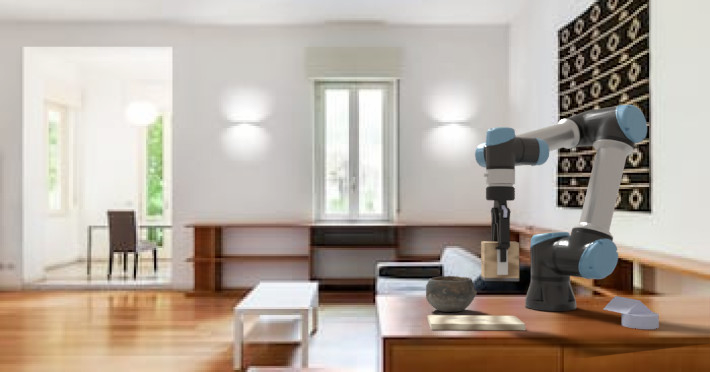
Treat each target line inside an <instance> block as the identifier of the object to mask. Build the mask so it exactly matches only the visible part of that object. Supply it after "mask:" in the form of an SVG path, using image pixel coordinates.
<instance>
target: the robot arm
mask: <svg viewBox="0 0 710 372" xmlns="http://www.w3.org/2000/svg"><path fill="white" fill-rule="evenodd" d="M515 131H516V130H515V129H514V128H512V127H509V126H508V127H506V126H505V127H504V126H501V127H492V128H488V129H487V131H486V135H485V137H486V138H485V142H481V143H480V144H479V145H477V147H476V149H475V151H474V157H475V158H474V159H475V161H476V163H477V164H478V165H479V167H481V168H485V171H486V172H485V173H484V174H483V177H485V182H486V183H485V184H486V185H488V186H486V187H485V200H486V201H493V207H491V210H490V215H491V217H490V218H491V221H490V222H491V232H490V233H491V235H490V236H491V238H490V239H491V241H490V242H498V247H495V249H496V250H497V275H508V248H510V242H511V234H510V233H511V223H510V222H511V209H510V208H509V207H508V201H515V198H516V191H515V190H516V188H515V186H513V185H516V167H520V166H531V167H535V166H542V165H544V164H545V163H546V162H547V161H548V159H549V158H550V152H552V151H555V150H559V149H562V148H564V149H568V150H569V149H574V148H577V147H578V148H579V147H593V148H594V149H595V151H596V154H595V156H594V161H593V165H592V169H591V173H590V176H589V181H588V185H587V190H586V193H585V194H586V195H585V199H584V201H583V206H582V208H581V209H582V210H581V214H580V219H579V222H578V224H577V225H575V226H573V227H572V229H571V231H570V232H567V231H560V232H559V231H557V232H547V233H546V232H545V233H537V234H534V235H532V237H531V238H530V247H529V250H530V252H529V253H530V282H529V287H528V290H527V292H526V296H525V300H524V303H525V305H524V306H525V308H528V309H531V310H537V311H545V312H546V311H547V312H548V311H549V312H568V311H575V310H577V301H576V297H575V294H574V290H573V288H572V285H571V277H575V278H583V279H586V280H602V279H605V278H607V277H608V276H610V275H611V274H612V273H613V272H614V270H615V268H616V267H617V264H618V261H619V252H618V247H617V245H616V243H615V242H614V236H613V235H612V233H611V232H610V230H611V229H610V228H611V226H612V225H611V224H612V219H613V215H614V212H615V208H616V203H617V199H618V196H619V190H620V185H621V181H622V178H623V173H624V168H625V164H626V160H627V157H628V156H630V155H631V154H632V155H633V153H634V149H635V146H636V144H640V143H641V142H643V141H644V140H645V139H646V137H647V133H648V123H647V120H646V117H645V115H644V113H643V112H642V110H641V109H640V108H639V107H638V106H635V105H633V104H619V105H617V106H616V105H615V106H610V107H603V108H595V109H589V110H587V111H583V112H580V113H578V114H575V115H572V116H569V117H567V118H566V117H565V118H563V119H560V120H559V121H558V122H557V123H556V124H553V125H550V126H547V127H542V128H541V127H540V128H538V129H535V130H531V131H527V132H524V133H520V134H516V132H515Z"/></svg>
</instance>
